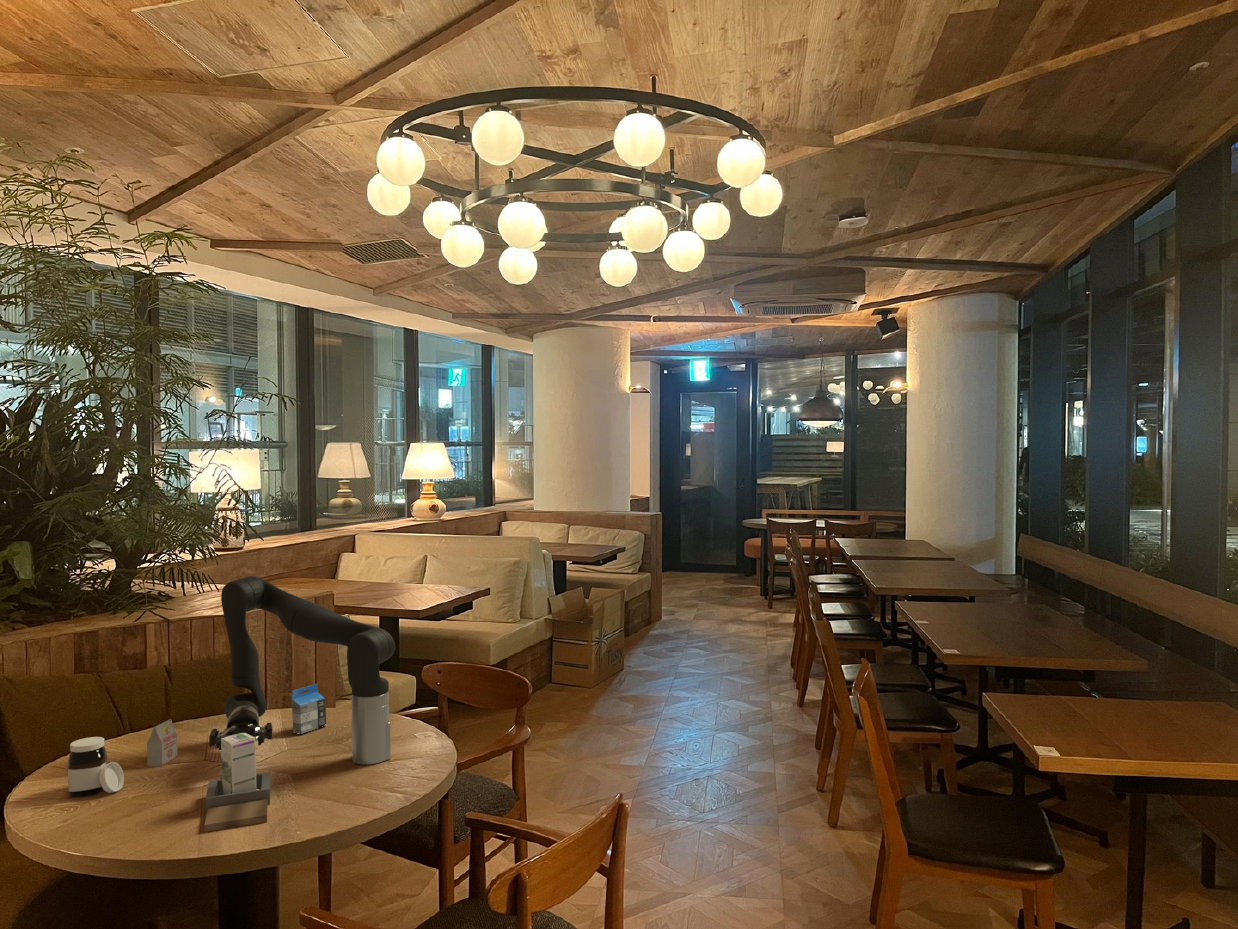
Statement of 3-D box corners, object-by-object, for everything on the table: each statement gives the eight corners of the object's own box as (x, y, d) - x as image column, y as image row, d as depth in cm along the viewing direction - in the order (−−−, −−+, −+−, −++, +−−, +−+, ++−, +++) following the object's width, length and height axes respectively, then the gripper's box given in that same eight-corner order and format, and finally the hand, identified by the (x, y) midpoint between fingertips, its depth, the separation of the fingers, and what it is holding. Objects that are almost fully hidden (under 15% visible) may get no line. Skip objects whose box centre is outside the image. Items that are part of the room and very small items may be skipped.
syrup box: (257, 799, 187) (257, 736, 187) (231, 808, 183) (230, 743, 183) (246, 793, 191) (246, 731, 191) (220, 801, 186) (220, 737, 186)
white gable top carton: (147, 766, 208) (146, 727, 208) (164, 757, 215) (163, 719, 215) (160, 766, 208) (160, 727, 208) (177, 757, 215) (177, 719, 215)
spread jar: (71, 786, 196) (70, 738, 196) (126, 777, 201) (125, 730, 201) (64, 805, 185) (63, 753, 185) (122, 795, 190) (121, 745, 190)
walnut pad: (267, 805, 183) (267, 799, 183) (266, 822, 175) (266, 815, 175) (207, 815, 179) (207, 808, 179) (204, 832, 171) (204, 825, 171)
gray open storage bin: (270, 786, 194) (270, 772, 194) (269, 804, 184) (269, 789, 184) (209, 795, 189) (209, 780, 189) (205, 814, 179) (205, 798, 179)
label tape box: (301, 736, 231) (300, 692, 231) (291, 733, 233) (291, 690, 233) (326, 727, 238) (326, 685, 238) (317, 724, 240) (317, 683, 240)
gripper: (212, 712, 209) (207, 732, 194) (272, 706, 215) (272, 724, 200) (212, 741, 209) (207, 763, 194) (272, 734, 215) (272, 755, 200)
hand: (240, 743), depth 197 cm, fingers open, 8 cm apart
